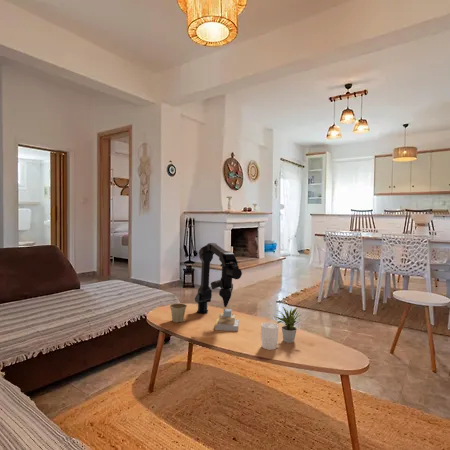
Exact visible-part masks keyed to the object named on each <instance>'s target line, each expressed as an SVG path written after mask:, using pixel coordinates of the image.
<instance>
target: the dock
mask: <svg viewBox="0 0 450 450" xmlns="http://www.w3.org/2000/svg"><path fill="white" fill-rule="evenodd" d="M239 325H240V319H236V318H235V324H219V318H216V322H215V323H214V330H215V331H225V332H226V331H227V332H228V331H229V332H238V331H239Z"/></svg>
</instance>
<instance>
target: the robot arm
mask: <svg viewBox="0 0 450 450" xmlns="http://www.w3.org/2000/svg"><path fill="white" fill-rule="evenodd" d="M198 255H199V260H200V262H201V270H200V271H201V273H200V274H201V275H200V286H199V287H198V289H197V294H196V295H195V297H194V302H195V303H197V310H196V313H197V314H208V313H209V309H208V303H211V301H212V297H213V294H212V293H213V291H212V290H215V289H219V288H220V289H219V291H218V295H219V296H220V297H221V299H222V302H223V308H227V306H228V304H229V302H230V300H231V298H232V293H233V290H234V283H233V279H234V280H239V279H241V277H242V275H243V272H242V269H241V268H240V267H239V264H238V259H237V258H236V255H235V253H233V252H232V251H227V250H225V249H224V248H222V247H220V246H219V245H218V244H217V243H215V242H210V243H207V244H206V245H204V246H202V247H200V249H199V251H198ZM214 255H216V256H217V257H218V260H219V261H220V263H221V264H220V267H221V278H220V279H217V280H214V281H212V282H210V270H211V269H210V266H211V265H210V264H211V262H212V260H213V258H214ZM210 287H211V288H210Z"/></svg>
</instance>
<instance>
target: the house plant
mask: <svg viewBox="0 0 450 450" xmlns="http://www.w3.org/2000/svg"><path fill="white" fill-rule="evenodd" d="M282 309H283V311H284V313H283V312H282V311H280V310H277V309H275V311H276V312H278V313H280V314H281V316H282V317H279V316H274V318H275V319H277V321H276V324H279V323H282V324H283V326H281V331H282V332H281V334H282V339H283V342H284V343H288V344H292V343H295V339H296V335H297V331H298V330H297V329H298V328H297V326H295V324H297V321H296V320H297V318H298V317H300V316H301V314H300V315H299V313H300V312H299V310H297V309H298V307H296V308H294V309H293V310H292V308H291V307H290V310H287V309H286V308H285V307H284V306H282Z"/></svg>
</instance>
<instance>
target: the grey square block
mask: <svg viewBox="0 0 450 450" xmlns="http://www.w3.org/2000/svg"><path fill="white" fill-rule="evenodd" d="M232 312H233V311H232V308H229V309H228V308H223V313H222V314H223V317H231V314H232Z"/></svg>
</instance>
